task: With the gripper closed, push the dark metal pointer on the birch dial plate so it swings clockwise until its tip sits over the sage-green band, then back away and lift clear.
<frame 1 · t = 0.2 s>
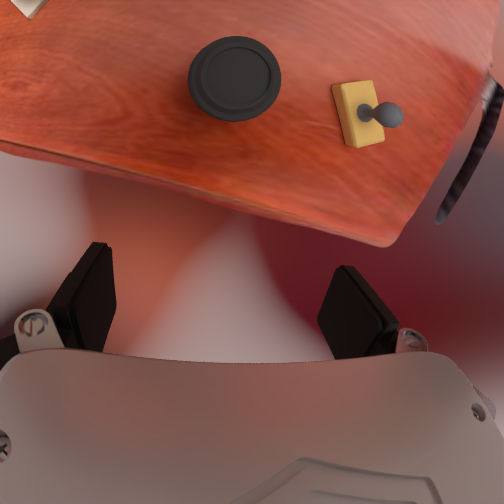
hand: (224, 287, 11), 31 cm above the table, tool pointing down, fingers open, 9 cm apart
rubber stamp: (352, 112, 37), on the table
coffee cup: (226, 90, 34), on the table
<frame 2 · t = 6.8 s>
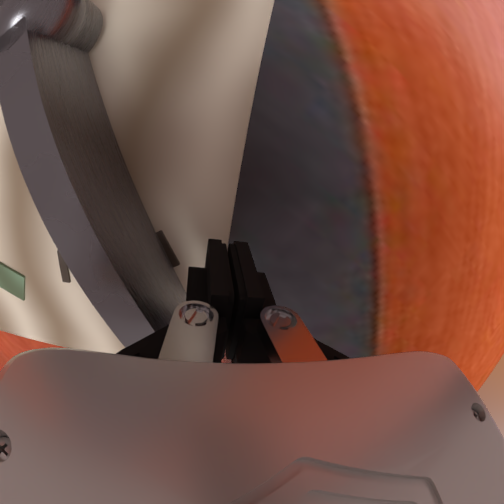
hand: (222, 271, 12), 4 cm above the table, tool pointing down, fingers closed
pointer lever: (82, 167, 8), point 5 cm above the table, hinge at -3.5°, touching gripper
dial plate: (41, 186, 12), on the table
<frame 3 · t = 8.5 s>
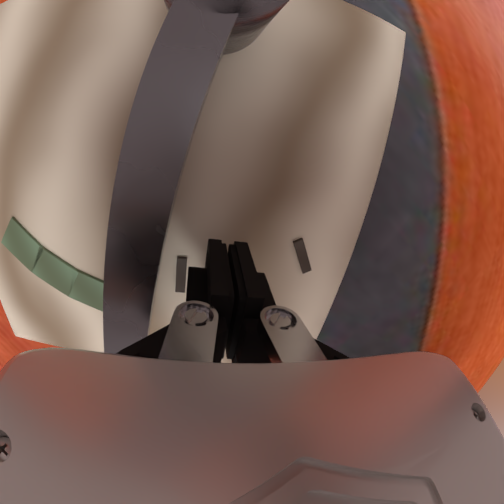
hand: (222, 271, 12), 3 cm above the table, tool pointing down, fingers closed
pointer lever: (156, 179, 8), point 4 cm above the table, hinge at -38.9°, touching gripper
dial plate: (149, 184, 13), on the table
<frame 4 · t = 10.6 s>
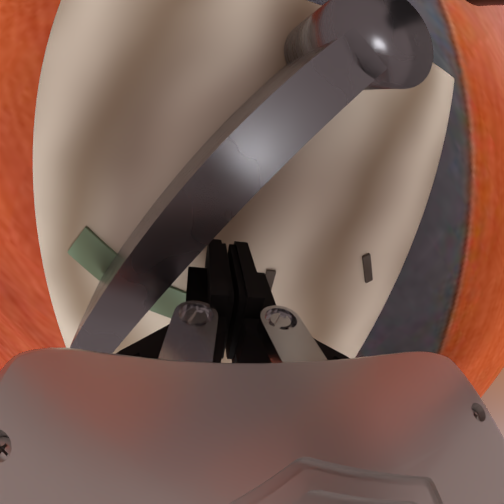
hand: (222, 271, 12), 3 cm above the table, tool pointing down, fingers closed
pointer lever: (219, 166, 9), point 5 cm above the table, hinge at -63.5°, touching gripper
dial plate: (239, 201, 14), on the table
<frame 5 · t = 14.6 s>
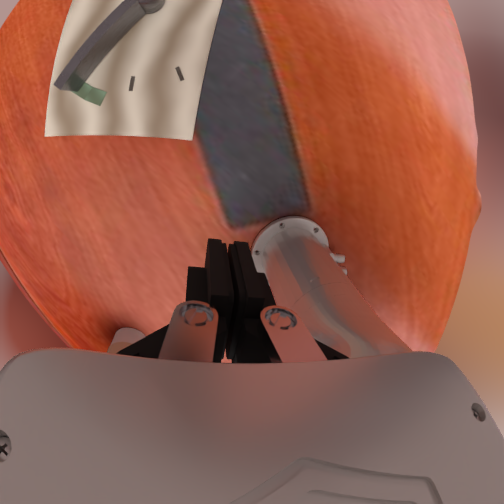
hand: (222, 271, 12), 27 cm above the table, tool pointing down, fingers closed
pointer lever: (108, 34, 21), point 4 cm above the table, hinge at -63.7°
coffee cup: (131, 339, 48), on the table
dial plate: (126, 57, 26), on the table
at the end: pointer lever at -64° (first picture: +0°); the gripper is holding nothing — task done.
